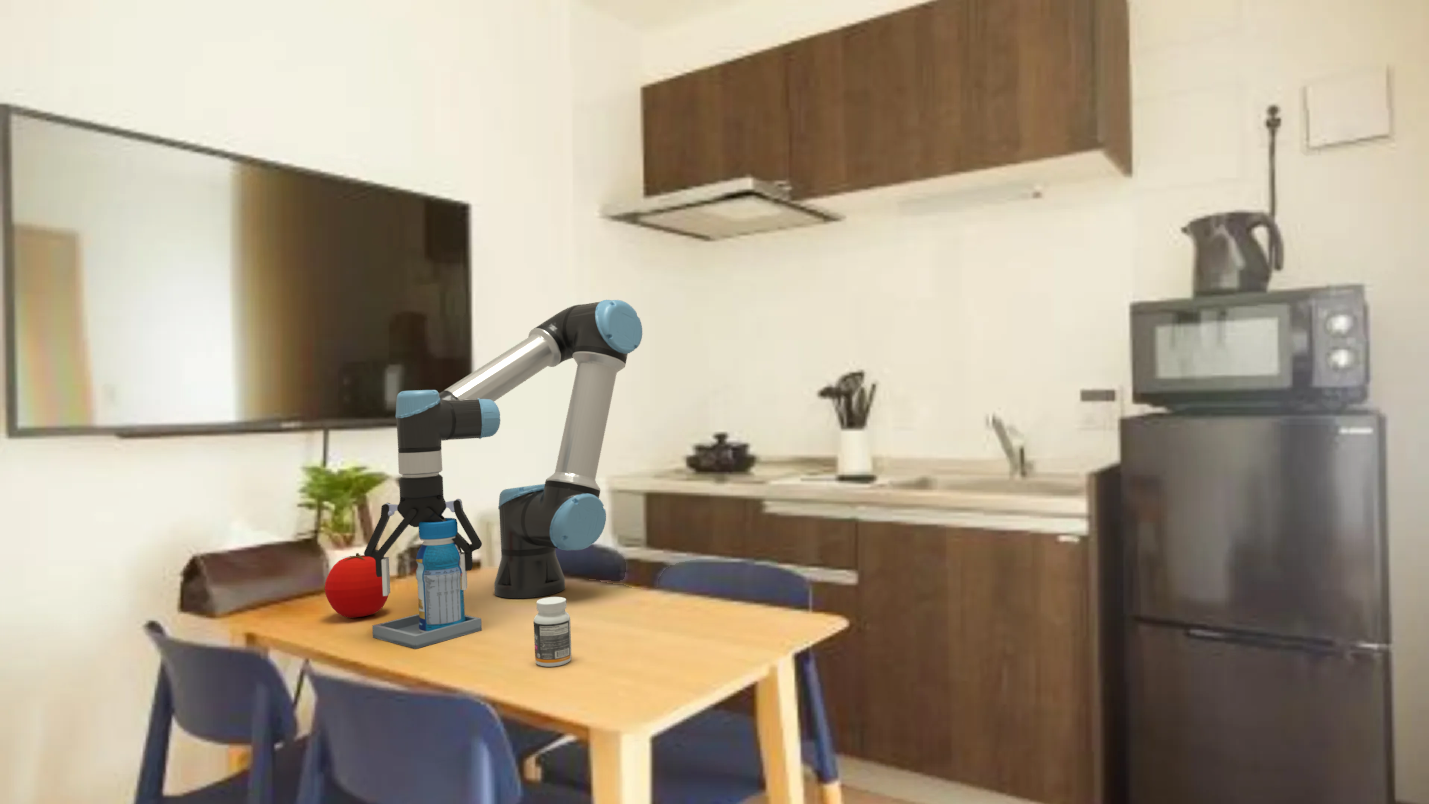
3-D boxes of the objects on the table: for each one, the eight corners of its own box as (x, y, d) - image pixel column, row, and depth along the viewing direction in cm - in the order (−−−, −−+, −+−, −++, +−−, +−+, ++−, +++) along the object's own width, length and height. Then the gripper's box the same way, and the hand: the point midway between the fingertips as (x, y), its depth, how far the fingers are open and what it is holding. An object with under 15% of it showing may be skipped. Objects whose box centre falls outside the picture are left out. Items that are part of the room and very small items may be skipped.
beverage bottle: (441, 638, 154) (437, 524, 154) (408, 633, 158) (403, 522, 158) (476, 625, 161) (471, 517, 161) (443, 621, 165) (438, 516, 165)
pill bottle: (537, 658, 142) (535, 597, 142) (573, 655, 142) (570, 595, 142) (533, 669, 136) (530, 605, 136) (570, 666, 137) (567, 603, 137)
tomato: (376, 606, 183) (374, 546, 183) (401, 614, 174) (398, 551, 174) (315, 618, 174) (312, 555, 174) (338, 628, 166) (335, 562, 166)
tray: (438, 620, 169) (437, 609, 169) (481, 630, 160) (481, 618, 160) (372, 637, 158) (372, 625, 158) (415, 649, 150) (415, 636, 150)
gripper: (493, 469, 165) (497, 582, 165) (353, 476, 161) (358, 592, 161) (489, 473, 157) (494, 590, 157) (343, 480, 153) (348, 601, 153)
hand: (425, 591), depth 159 cm, fingers open, 13 cm apart
